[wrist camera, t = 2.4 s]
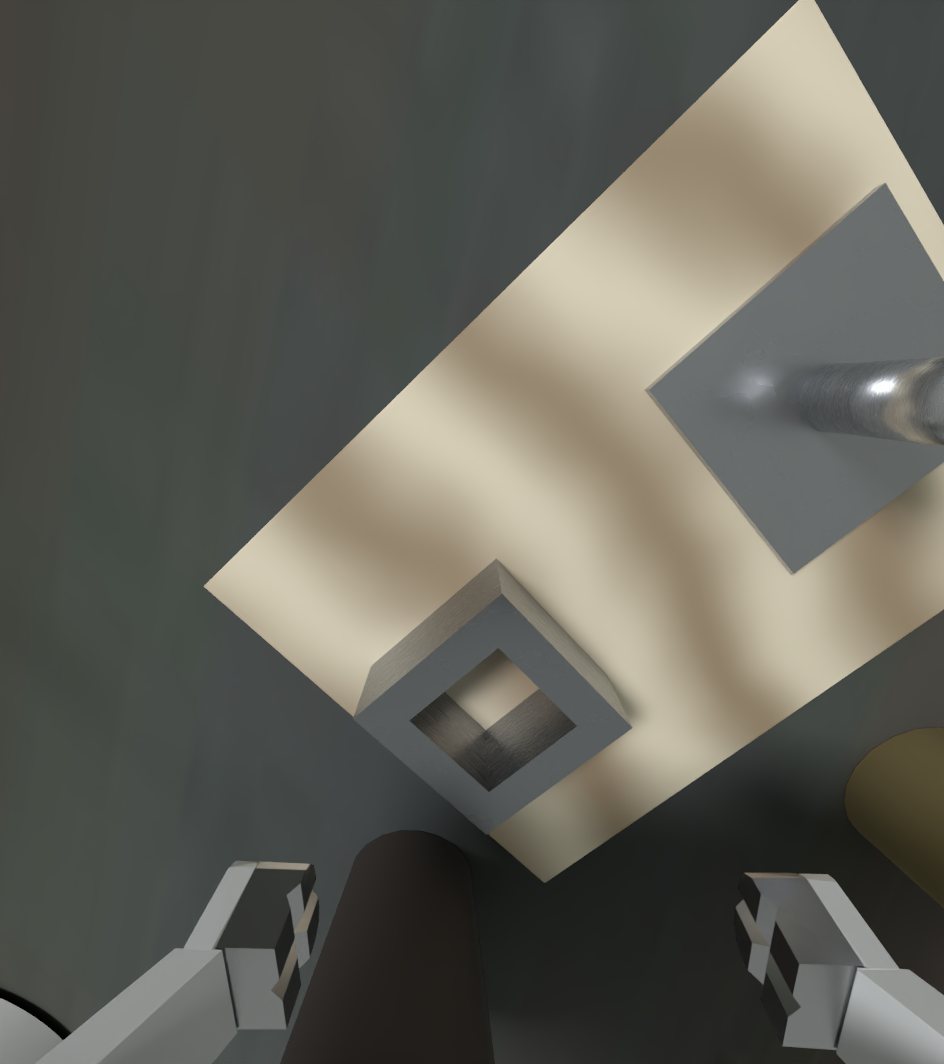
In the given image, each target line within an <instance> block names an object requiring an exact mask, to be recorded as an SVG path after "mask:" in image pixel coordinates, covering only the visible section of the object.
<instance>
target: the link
mask: <svg viewBox="0 0 944 1064" xmlns="http://www.w3.org/2000/svg"><path fill="white" fill-rule="evenodd" d="M498 648H499V649H500V650H501V651H502V652H503V653H504V654H505V655H506V656H507V657H508V658H509V659H510V660H511V661H512V662H513V663H514V664H515V665H516V666H517V667H518V668H519V669H520V670H521V671H522V672H523V673H524V674H525V675H526V676H527V677H528V678H529V679H530V680H531V681H532V682H533V683H534V684H535V685H536V686H537V687H538V688H539V689H538V690H537V691H535V692H534V693H533V694H531V695H530V696H529V697H528V698H526V699H525V700H524V701H523V702H521V703H520V704H519V705H517V706H516V707H515V708H514V709H512V710H511V711H510V712H508V713H507V714H506V715H505V716H503V717H502V718H501V719H499V720H498V721H497V722H496V723H494V724H493V725H492V726H490V727H489V728H488V729H487V730H485V729H484V728H483V727H482V726H481V725H480V724H479V723H478V722H476V721H475V720H474V719H473V718H472V717H471V716H470V715H469V714H468V713H467V712H466V711H465V710H464V709H463V708H461V707H460V706H459V705H458V704H457V703H456V702H455V701H454V700H453V699H452V698H451V697H450V696H449V695H448V694H447V693H445V691H446V690H447V689H449V688H450V687H451V686H452V685H454V684H455V683H456V682H457V681H459V680H460V679H461V678H462V677H463V676H465V675H466V674H467V673H468V672H470V671H471V670H472V669H473V668H474V667H476V666H477V665H478V664H479V663H481V662H482V661H483V660H484V659H486V658H487V657H488V656H489V655H490V654H492V653H493V652H494V651H495V650H497V649H498ZM353 719H354V720H355V721H356V722H357V723H358V724H359V725H360V726H362V727H363V728H364V729H365V730H366V731H367V732H368V733H370V734H371V735H372V736H373V737H374V738H375V739H377V740H378V741H379V742H380V743H381V744H382V745H383V746H385V747H386V748H387V749H388V750H389V751H390V752H392V753H393V754H394V755H395V756H396V757H397V758H398V759H400V760H401V761H402V762H403V763H404V764H405V765H406V766H408V767H409V768H410V769H411V770H412V771H413V772H415V773H416V774H417V775H418V776H419V777H420V778H421V779H423V780H424V781H425V782H426V783H427V784H428V785H429V786H431V787H432V788H433V789H434V790H435V791H436V792H438V793H439V794H440V795H441V796H442V797H443V798H444V799H446V800H447V801H448V802H449V803H450V804H451V805H452V806H454V807H455V808H456V809H457V810H458V811H459V812H461V813H462V814H463V815H464V816H465V817H466V818H467V819H469V820H470V821H471V822H472V823H473V824H474V825H475V826H477V827H478V828H479V829H480V830H481V831H482V832H484V833H485V834H486V835H487V834H488V833H489V832H491V831H492V830H494V829H495V828H496V827H498V826H499V825H500V824H502V823H503V822H505V821H506V820H507V819H509V818H510V817H511V816H513V815H514V814H515V813H517V812H518V811H520V810H521V809H522V808H524V807H525V806H526V805H528V804H529V803H531V802H532V801H533V800H535V799H536V798H537V797H539V796H540V795H542V794H543V793H544V792H546V791H547V790H548V789H550V788H551V787H552V786H554V785H555V784H557V783H558V782H559V781H561V780H562V779H563V778H565V777H566V776H568V775H569V774H570V773H572V772H573V771H574V770H576V769H577V768H579V767H580V766H581V765H583V764H584V763H585V762H587V761H588V760H590V759H591V758H592V757H594V756H595V755H596V754H598V753H599V752H600V751H602V750H603V749H605V748H606V747H607V746H609V745H610V744H611V743H613V742H614V741H616V740H617V739H618V738H620V737H621V736H622V735H624V734H625V733H627V732H628V731H629V730H631V729H632V726H631V723H630V721H629V719H628V717H627V715H626V713H625V711H624V709H623V707H622V705H621V703H620V701H619V699H618V697H617V695H616V692H615V690H614V688H613V686H612V684H611V682H610V680H609V678H608V676H607V674H606V673H605V672H604V671H603V670H602V669H601V668H600V667H599V666H598V665H597V663H596V662H595V661H594V660H593V659H592V658H591V657H590V656H589V655H588V654H587V653H586V652H585V651H584V650H583V649H582V648H581V647H580V646H579V645H578V644H577V643H576V641H575V640H574V639H573V638H572V637H571V636H570V635H569V634H568V633H567V632H566V631H565V630H564V629H563V628H562V627H561V626H560V625H559V624H558V623H557V622H556V621H555V620H554V618H553V617H552V616H551V615H550V614H549V613H548V612H547V611H546V610H545V609H544V608H543V607H542V606H541V605H540V604H539V603H538V602H537V601H536V600H535V599H534V598H533V596H532V595H531V594H530V593H529V592H528V591H527V590H526V589H525V588H524V587H523V586H522V585H521V584H520V583H519V582H518V581H517V580H516V579H515V578H514V577H513V576H512V574H511V573H510V572H509V571H508V570H507V569H506V568H505V567H504V566H503V565H502V564H501V563H500V562H499V561H498V560H497V559H495V560H494V561H493V562H491V563H490V564H489V565H488V566H487V567H486V568H484V569H483V570H482V571H481V572H480V573H479V574H477V575H476V576H475V577H474V578H473V579H472V580H470V581H469V582H468V583H467V584H466V585H465V586H464V587H462V588H461V589H460V590H459V591H458V592H457V593H455V594H454V595H453V596H452V597H451V598H450V599H448V600H447V601H446V602H445V603H444V604H443V605H441V606H440V607H439V608H438V609H437V610H436V611H434V612H433V613H432V614H431V615H430V616H429V617H427V618H426V619H425V620H424V621H423V622H422V623H420V624H419V625H418V626H417V627H416V628H415V629H413V630H412V631H411V632H410V633H409V634H408V635H406V636H405V637H404V638H403V639H402V640H401V641H400V642H398V643H397V644H396V645H395V646H394V647H393V648H391V649H390V650H389V651H388V652H387V653H386V654H384V655H383V656H382V657H381V658H380V659H379V660H377V661H376V662H375V663H374V664H373V665H372V666H371V668H370V671H369V674H368V676H367V679H366V682H365V685H364V688H363V691H362V694H361V697H360V699H359V702H358V705H357V708H356V711H355V714H354V717H353Z"/></svg>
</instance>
